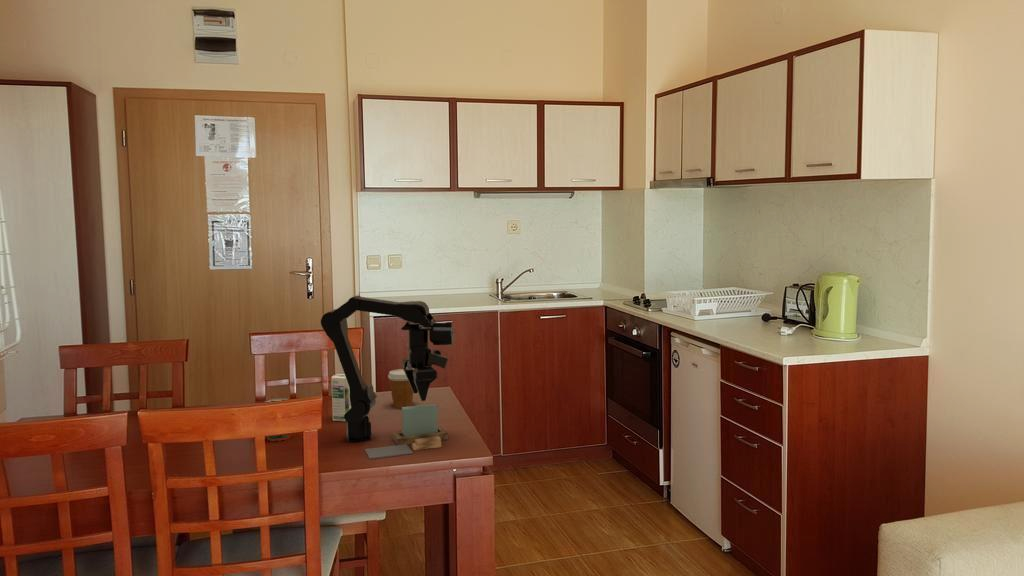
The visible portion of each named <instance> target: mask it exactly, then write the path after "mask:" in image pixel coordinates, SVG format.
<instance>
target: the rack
mask: <svg viewBox="0 0 1024 576" xmlns="http://www.w3.org/2000/svg"><path fill="white" fill-rule="evenodd" d="M434 436H439V437H440V438H441V441H445V440H447V441H448V438H449V437H448V436H449V435H448V432H447V430H445V428H444V427H443V426H438V433H430V434H422V435H413V436H405V437H402V431H396V432H395V431H394V432H392V439H393V441H394V443H395V444H396V445H403V444H408V445H412V443H415V439H420V438H427V437H434Z"/></svg>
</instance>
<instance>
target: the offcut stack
mask: <svg viewBox="0 0 1024 576" xmlns="http://www.w3.org/2000/svg"><path fill="white" fill-rule="evenodd" d="M411 448H412V449H413V451H421V450H428V449H429V448H430V449H437V448H442V440H441V438H440V437H439V436H434V437H427V438H420V439H415V443H412V444H411Z"/></svg>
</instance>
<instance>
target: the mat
mask: <svg viewBox="0 0 1024 576" xmlns="http://www.w3.org/2000/svg"><path fill="white" fill-rule="evenodd" d="M364 452H365V453H366V455H367V456H368V459H369V460H376V459H383V458H384V459H385V458H391V457H392V458H393V457H399V456H409V455H413V454H414V452H413V451H412V449H411V448H410V446H409V444H408V445H407V444H403V445H397V444H396V445H388V446H387V445H386V446H379V447H373V448H371V447H370V448H365V449H364ZM408 454H409V455H408Z"/></svg>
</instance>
